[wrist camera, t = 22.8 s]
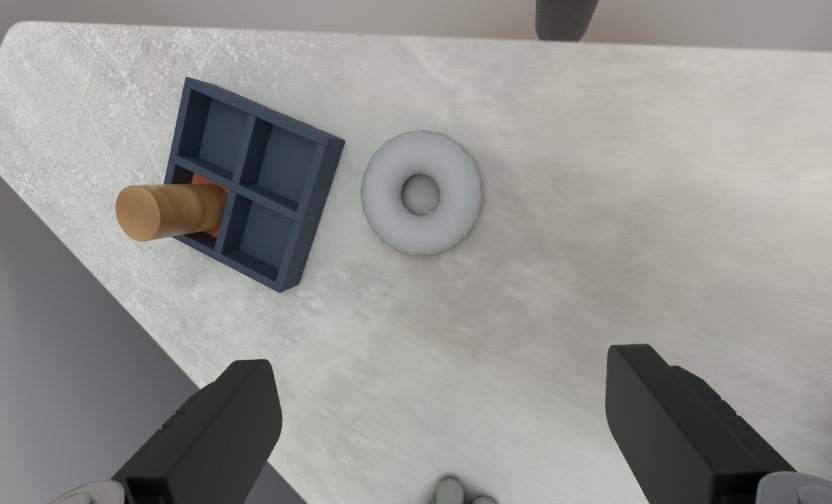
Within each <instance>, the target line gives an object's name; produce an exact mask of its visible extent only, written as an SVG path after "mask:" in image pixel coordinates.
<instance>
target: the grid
mask: <svg viewBox="0 0 832 504" xmlns="http://www.w3.org/2000/svg"><path fill="white" fill-rule="evenodd" d="M344 143H345V140H343V139H340V138H338V137H336V136H333V135H331V134H329V133H326V132H324V131H321V130H319V129H317V128H314V127H312V126H310V125H307V124H305V123H303V122H300V121H298V120H296V119H293V118H291V117H289V116H286V115H284V114H282V113H279V112H277V111H274V110H272V109H270V108H267V107H265V106H263V105H260V104H258V103H256V102H253V101H251V100H249V99H246V98H244V97H242V96H239V95H237V94H235V93H232V92H230V91H228V90H225V89H223V88H220V87H218V86H216V85H213V84H210V83H207V82H203V81H200V80H196V79H193V78H189V77H186V78H185V83H184V88H183V93H182V98H181V103H180V107H179V112H178V117H177V122H176V127H175V132H174V137H173V142H172V147H171V153H170V156H169V161H168V166H167V171H166V176H165V181H164V184H198V183H213V184H216V185H219V186H220V187H222V188H223V189H224V190H225V191H226V192H227V194H228V197H227V201H226V205H225V209H224V213H223V217H222V221H221V225H220V228H218V229H213V230H207V231H201V232H195V233H190V234H184V235H178V236H172V237H173V238H175V239H177V240H179V241H181V242H183V243H185V244H186V245H188V246H190V247H192V248H194V249H196V250H198V251H200V252H202V253H204V254H206V255H208V256H210V257H212V258H213V259H215V260H217V261H219V262H221V263H223V264H225V265H227V266H229V267H231V268H233V269H235V270H237V271H239V272H240V273H242V274H244V275H246V276H248V277H250V278H252V279H254V280H256V281H258V282H260V283H262V284H264V285H266V286H267V287H269V288H271V289H273V290H275V291H277V292H279V293H281V292H283V291H286V290H288V289H290V288H292V287H294V286H296V285H298V284H299V282H300V279H301V276H302V272H303V269H304V266H305V263H306V260H307V257H308V254H309V251H310V248H311V245H312V242H313V239H314V235H315V232H316V229H317V226H318V223H319V220H320V217H321V214H322V211H323V208H324V205H325V201H326V198H327V195H328V192H329V189H330V186H331V183H332V180H333V177H334V174H335V171H336V168H337V164H338V161H339V158H340V155H341V152H342V149H343V146H344Z"/></svg>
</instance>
